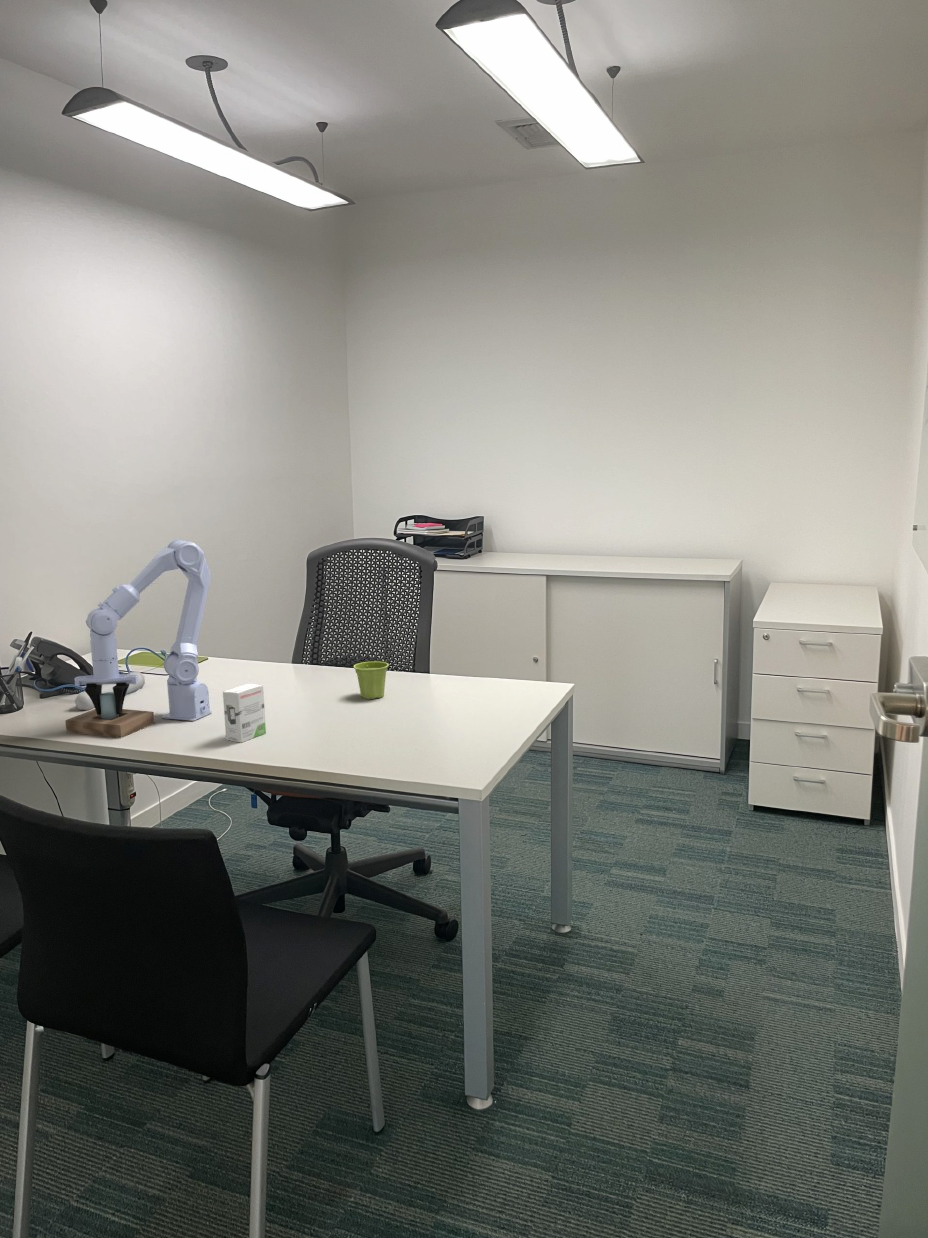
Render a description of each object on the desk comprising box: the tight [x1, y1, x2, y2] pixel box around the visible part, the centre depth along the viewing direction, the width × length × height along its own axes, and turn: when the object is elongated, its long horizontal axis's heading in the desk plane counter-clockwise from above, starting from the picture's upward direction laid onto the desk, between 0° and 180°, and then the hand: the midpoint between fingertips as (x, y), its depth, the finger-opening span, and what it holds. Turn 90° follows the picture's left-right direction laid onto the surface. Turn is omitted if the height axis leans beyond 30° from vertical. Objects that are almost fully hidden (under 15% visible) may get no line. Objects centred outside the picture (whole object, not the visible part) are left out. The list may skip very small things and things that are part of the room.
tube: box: [74, 670, 146, 711], centre depth 250 cm, size 5×5×25 cm
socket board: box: [65, 708, 155, 738], centre depth 223 cm, size 16×12×3 cm
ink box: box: [222, 683, 267, 744], centre depth 213 cm, size 9×5×12 cm, turn 149°
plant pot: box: [353, 661, 389, 700], centre depth 247 cm, size 9×9×9 cm
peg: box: [100, 692, 119, 720], centre depth 223 cm, size 4×4×7 cm
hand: (109, 713), depth 223 cm, fingers open, 4 cm apart
